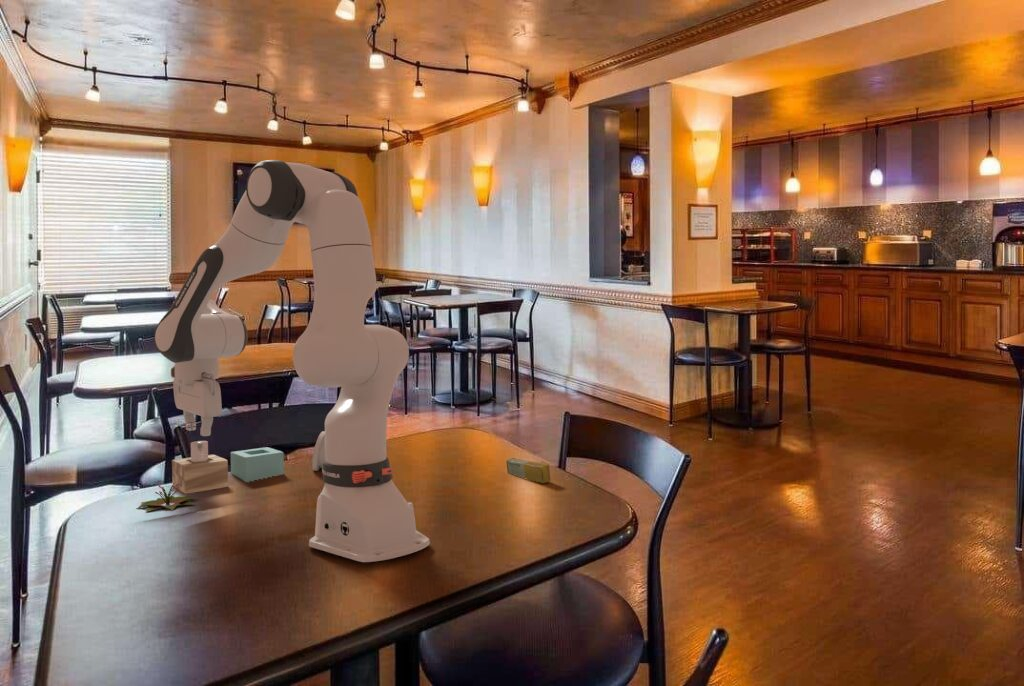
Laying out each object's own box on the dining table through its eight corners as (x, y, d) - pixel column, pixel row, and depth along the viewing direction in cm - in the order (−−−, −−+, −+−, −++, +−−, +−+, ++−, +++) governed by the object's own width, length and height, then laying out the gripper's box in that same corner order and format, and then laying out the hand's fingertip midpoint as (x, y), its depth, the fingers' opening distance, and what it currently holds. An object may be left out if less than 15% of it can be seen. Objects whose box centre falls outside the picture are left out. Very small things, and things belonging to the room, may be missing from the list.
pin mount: (228, 486, 155) (227, 460, 155) (185, 493, 149) (185, 466, 149) (213, 479, 162) (213, 454, 161) (172, 486, 156) (171, 460, 155)
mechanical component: (321, 466, 174) (326, 427, 174) (338, 469, 174) (344, 430, 174) (308, 475, 164) (314, 434, 164) (326, 478, 164) (333, 437, 164)
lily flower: (137, 518, 132) (136, 494, 132) (131, 504, 142) (130, 482, 142) (205, 508, 139) (204, 485, 139) (194, 496, 149) (194, 474, 149)
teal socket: (283, 477, 164) (283, 452, 164) (245, 483, 158) (245, 457, 157) (268, 471, 170) (267, 447, 170) (231, 477, 164) (230, 452, 164)
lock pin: (211, 482, 155) (210, 442, 155) (194, 484, 153) (193, 444, 152) (205, 479, 158) (204, 440, 157) (189, 482, 155) (188, 442, 155)
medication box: (507, 476, 164) (505, 460, 164) (515, 473, 166) (513, 457, 165) (543, 484, 155) (541, 466, 155) (551, 480, 157) (550, 463, 157)
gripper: (229, 373, 149) (229, 437, 149) (196, 367, 164) (197, 425, 164) (198, 375, 145) (199, 441, 145) (168, 369, 160) (169, 428, 160)
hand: (198, 432), depth 155 cm, fingers open, 8 cm apart
